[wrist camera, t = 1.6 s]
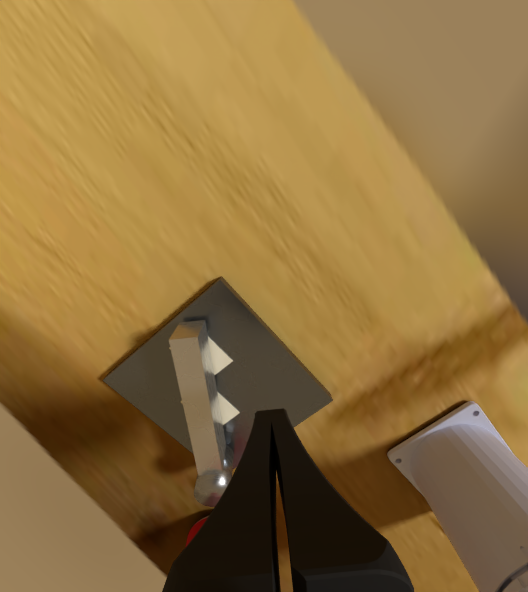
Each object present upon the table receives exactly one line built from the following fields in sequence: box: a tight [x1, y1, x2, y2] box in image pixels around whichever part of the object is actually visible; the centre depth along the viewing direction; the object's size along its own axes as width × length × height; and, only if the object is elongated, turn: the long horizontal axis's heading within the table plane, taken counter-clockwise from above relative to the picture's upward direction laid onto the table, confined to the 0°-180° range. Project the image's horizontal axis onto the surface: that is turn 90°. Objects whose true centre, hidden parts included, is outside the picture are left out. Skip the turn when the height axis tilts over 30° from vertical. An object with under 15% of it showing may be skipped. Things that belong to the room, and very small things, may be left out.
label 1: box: [169, 337, 233, 375], centre depth 19 cm, size 4×2×1 cm
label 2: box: [181, 392, 240, 425], centre depth 20 cm, size 4×2×1 cm
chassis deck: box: [103, 276, 333, 469], centre depth 20 cm, size 12×11×1 cm
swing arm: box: [169, 320, 234, 507], centre depth 18 cm, size 12×2×3 cm, turn 5°
